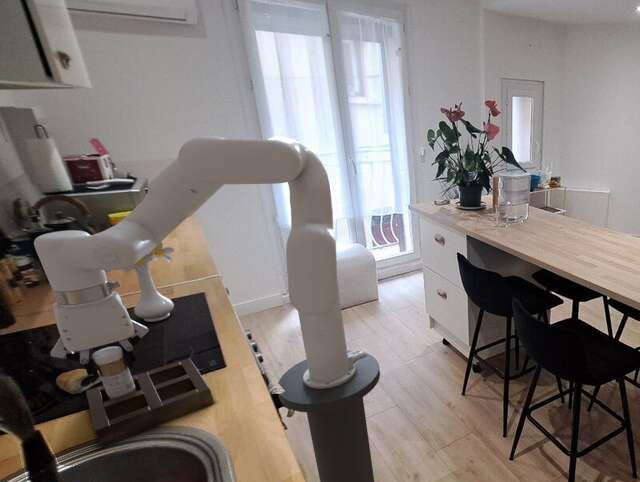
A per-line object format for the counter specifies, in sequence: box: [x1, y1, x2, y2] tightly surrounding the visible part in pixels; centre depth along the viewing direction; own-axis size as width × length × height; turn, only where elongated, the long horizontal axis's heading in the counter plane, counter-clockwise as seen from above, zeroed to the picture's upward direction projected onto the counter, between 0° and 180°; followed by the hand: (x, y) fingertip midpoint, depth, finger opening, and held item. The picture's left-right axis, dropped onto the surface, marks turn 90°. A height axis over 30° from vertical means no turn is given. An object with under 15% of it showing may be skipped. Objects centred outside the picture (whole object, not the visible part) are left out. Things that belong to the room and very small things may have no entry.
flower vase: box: [104, 241, 175, 323], centre depth 124 cm, size 13×18×25 cm
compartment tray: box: [85, 357, 215, 448], centre depth 90 cm, size 18×18×4 cm
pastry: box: [55, 368, 102, 395], centre depth 96 cm, size 9×7×4 cm
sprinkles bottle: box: [91, 345, 136, 400], centre depth 88 cm, size 5×5×14 cm
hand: (113, 370), depth 87 cm, fingers closed on sprinkles bottle, 4 cm apart
